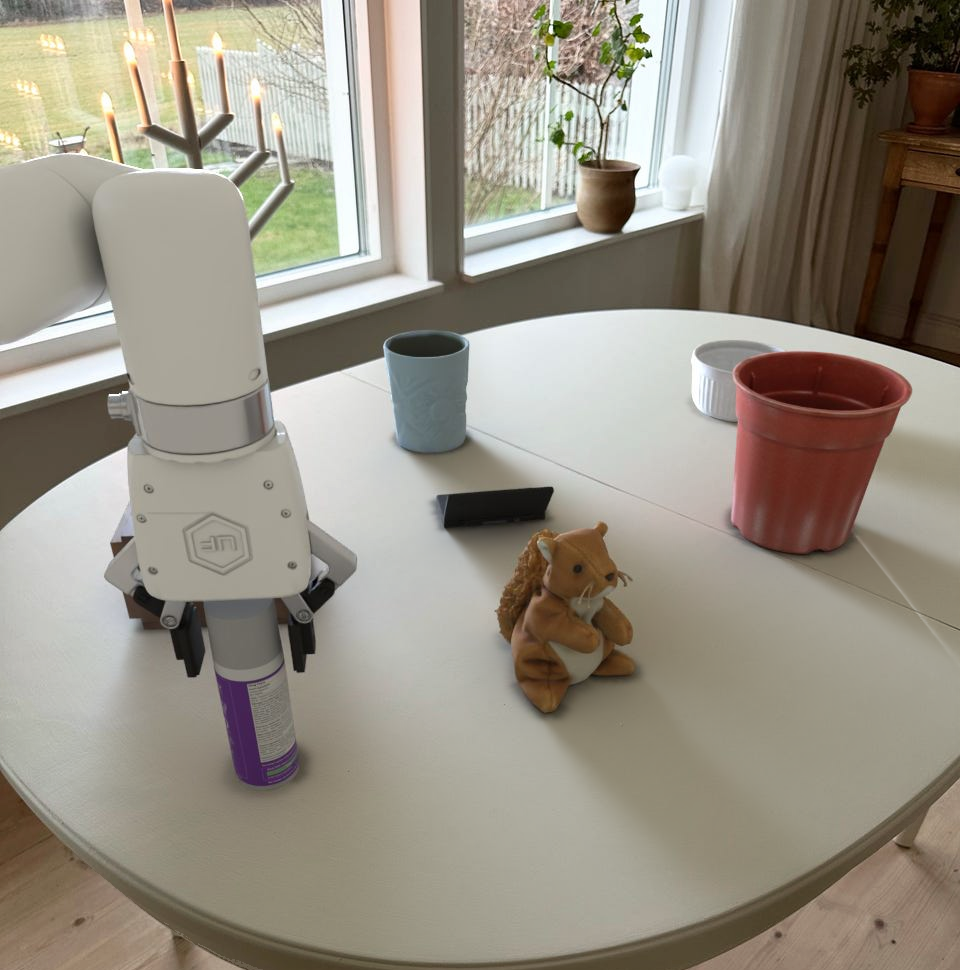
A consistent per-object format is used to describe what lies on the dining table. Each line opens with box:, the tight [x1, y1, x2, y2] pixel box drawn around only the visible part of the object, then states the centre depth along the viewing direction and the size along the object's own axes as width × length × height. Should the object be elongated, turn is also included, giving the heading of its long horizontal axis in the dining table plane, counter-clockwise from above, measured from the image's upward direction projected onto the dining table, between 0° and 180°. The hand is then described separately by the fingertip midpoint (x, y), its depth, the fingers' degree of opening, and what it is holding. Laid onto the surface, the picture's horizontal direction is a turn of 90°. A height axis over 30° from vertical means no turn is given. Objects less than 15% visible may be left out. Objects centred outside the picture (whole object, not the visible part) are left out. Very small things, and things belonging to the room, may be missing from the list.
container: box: [204, 598, 300, 792], centre depth 66 cm, size 5×5×15 cm
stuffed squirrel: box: [494, 520, 636, 714], centre depth 78 cm, size 10×14×13 cm
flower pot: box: [730, 350, 913, 555], centre depth 96 cm, size 16×16×16 cm
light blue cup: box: [382, 329, 470, 454], centre depth 115 cm, size 10×10×12 cm
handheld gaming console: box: [436, 486, 555, 529], centre depth 100 cm, size 12×7×10 cm
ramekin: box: [691, 339, 787, 423], centre depth 125 cm, size 13×13×7 cm
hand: (249, 661), depth 65 cm, fingers open, 6 cm apart
